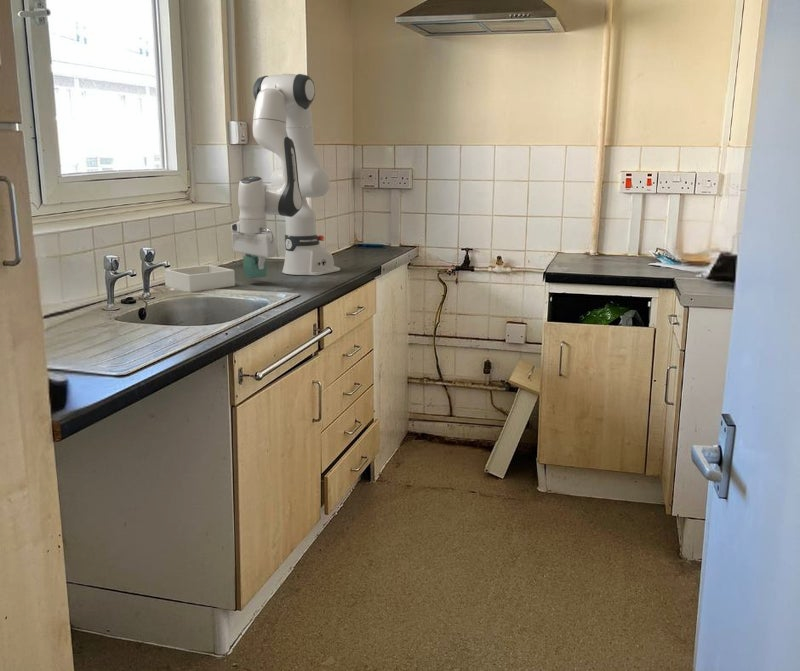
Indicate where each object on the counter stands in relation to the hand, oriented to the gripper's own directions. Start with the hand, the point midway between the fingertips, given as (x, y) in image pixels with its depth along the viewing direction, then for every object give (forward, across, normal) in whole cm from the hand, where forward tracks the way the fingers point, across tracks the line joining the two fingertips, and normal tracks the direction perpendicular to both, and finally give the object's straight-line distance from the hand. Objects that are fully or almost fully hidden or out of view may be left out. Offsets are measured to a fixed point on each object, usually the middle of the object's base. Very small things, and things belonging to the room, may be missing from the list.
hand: (254, 268), depth 267 cm
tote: (+6, +9, +16) cm, 19 cm away
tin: (+3, 0, 0) cm, 3 cm away
